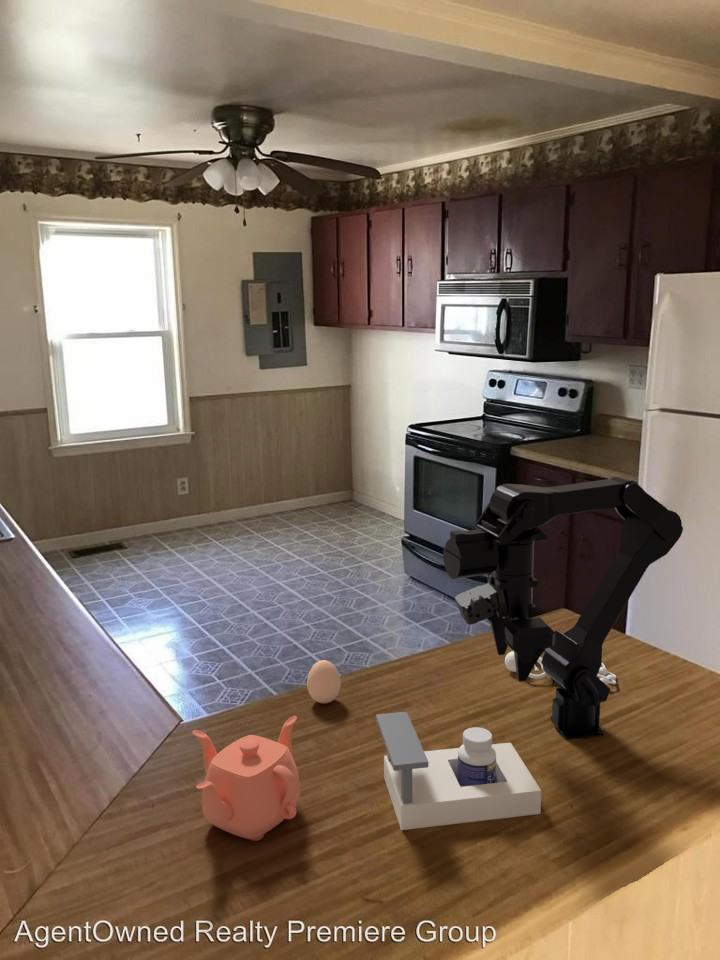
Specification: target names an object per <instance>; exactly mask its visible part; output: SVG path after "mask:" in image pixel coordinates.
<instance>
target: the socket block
mask: <svg viewBox="0 0 720 960" xmlns="http://www.w3.org/2000/svg"><path fill="white" fill-rule="evenodd" d="M375 721H376V723H377V727H378V729H379V732H380V735H381V738H382V741H383V743H384V747H385V750H386V754H385V755H383V778H384V781H385V784H386V788H387V791H388V793H389V796H390V797H389V798H390V800H391V803H392V806H393V809H394V810H393V811H394V812H395V815H396V818H397V821H398V822H397V823H398V824H399V828H400V831H404V830H415V829H423V828H431V827H438V826H448V825H456V824H457V825H458V824H465V823H466V824H467V823H474V822H481V821H489V820H490V821H491V820H500V819H509V818H515V817H516V818H517V817H524V816H533V815H541V809H542V807H541V806H542V805H541V803H542V789H541V788H540V787H539V784H538V783H537V782H536V780H535V778H534V777H533V775H532V774H531V772H530V771H529V769H528V767H527V766H526V764H525V763H524V761H523V760H522V758H521V756H520V755H519V754H518V752H517V750H516V748H515V747H514V746H513V744H512V743H511V742H505V743H504V742H503V743H501V742H500V743H495V744H494V743H492V747H493V748H494V750H495V752H496V776H495V783H491V784H482V785H473V786H464V787H460V785H459V783H458V781H457V778H458V750H459V748H460V747H456V748H455V747H454V748H444V749H436V750H434V749H433V750H426V751H425V750H424V748H423V746H422V743H421V741H420V739H419V737H418V734H417V732H416V730H415V728H414V725H413V722H412V720H411V718H410V715H409V714H408V711H399V712H388V713H387V712H386V713H377V714H375Z"/></svg>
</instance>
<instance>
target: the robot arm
mask: <svg viewBox="0 0 720 960" xmlns="http://www.w3.org/2000/svg"><path fill="white" fill-rule="evenodd" d="M613 508H614V509H615V512H616V513H617V514H618V515H619V516H620V518H621V519H623V524H622V525H621V528H620V531H619V533H620V534H619V535H620V536H619V549H618V551H617V554H616V555H615V557H614V559H613V560H612V561H611V563H610V565H609V567H608V569H607V570H606V572H605V574H604V576H603V577H602V579H601V581H600V582H599V584H598V586H597V587H596V589H595V591H594V592H593V594H592V595H591V597H590V599H589V601H588V603H587V604H586V605H585V608H584V609H583V611H582V613H581V614H580V616H579V618H578V620H577V621H576V623H575V624H574V626H573V627H571V628H570V629H567V631H565V632H561V631H560V630H559V629H556V630H553V628H552V627H551V626H549V624H548V623H547V622H546V621H545V620H544V619H542V618H541V617H532V618H530V617H529V614H531V615H532V614H537V612H538V611H537V610H538V607H537V605H536V604H535V603H534V602H533V589H534V588H538V585H539V584H538V579H537V578H535V577H534V561H535V560H534V557H535V556H534V555H535V553H534V552H535V542H541V541H547V540H549V536H548V534H546V533H545V532H544V531H543V530H542V529H541V528H540V526H543V525H546V524H548V523H549V521H551V520H553V519H554V518H557V517H560V516H564V515H566V516H567V515H572V514H579V513H586V512H592V511H599V510H605V509H613ZM497 522H501V523H503V524H505V525H504V526H502V525H499V524H498V523H497ZM683 531H684V527H683V524H682V519H681V517H680V515H679V514H678V513H677V512H676V511H673V510H670V509H667V507H666V506H664V505H663V504H662V503H661V502H659V501H658V500H657V499H655V498H654V497H653V496H652V495H650V494H649V493H648V492H646V491H645V490H644V488H642V486H640V485H639V483H638V482H636V481H634V480H631V479H628V478H625V477H621V476H613V477H610V478H608V479H600V480H599V479H598V480H593V481H592V480H591V481H584V482H579V483H571V484H570V483H569V484H564V485H563V484H562V485H557V486H548V487H545V486H544V487H543V486H538V485H537V486H536V485H529V484H520V483H519V484H518V483H517V484H515V483H504V484H501V485H499V486H497V487H496V488H495V490H494V491H493V493H492V494H491V497H490V499H489V503H488V504H487V506H486V507H485V508H484V510H483V512H481V515H480V516H479V518H478V519H477V520H476V521H475V524H474V529H471V530H451V531H450V533H449V539H448V540H447V541H446V543H445V546H444V549H443V551H442V556H443V557H442V558H443V564H444V568H445V571H446V572H447V575H448V576H449V578H451V579H452V580H456V579H463V578H465V579H466V578H470V577H479V576H486V575H487V583H485V584H482V585H477V586H474V587H472V588H470V589H468V590H466V591H463V592H461V593H459V594H457V595H455V597H454V601H455V603H456V605H457V607H458V608H457V609H458V610H459V613H460V617H461V618H463V620H464V621H465V622H466V623H465V624H467V625H470V626H471V625H475V624H478V622H479V623H480V622H482V621H484V620H486V619H487V621H489V624H490V628H491V632H492V637H493V641H494V644H495V649H496V653H497V655H498V656H504V655H505V654H506V652H507V650H508V647H509V648H510V649H511V650H512V651H514V656H515V664H516V672H515V673H516V677H517V681H518V682H526V681H527V679H528V678H529V677H528V676H529V674H530V673H531V672H532V671H533V669H534V668H535V667H534V666H535V665H536V664H537V663H538V662H537V661H538V659H539V658H540V657H541V656H542V655H543V656H542V657H541V658H542V662H541V663H542V665H543V670H544V671H545V673H546V674H547V676H549V679H550V682H551V683H552V684H553V685H555V686H556V687H557V688H555V697H554V698H552V708H551V709H552V710H551V711H552V712H551V715H550V721H551V722H552V723H553V725H554V726H555V728H556V729H557V730H558V731H559V732H560V733H561V735H562V737H564V738H565V739H576V738H578V739H579V738H586V737H587V738H588V737H595V736H596V737H597V736H604V735H605V734H604V733H605V731H604V729H602V727H601V726H600V719H601V717H600V716H601V715H600V714H601V703H604V702H607V700H608V698H609V694H610V691H611V688H610V687H609V686H608V684H607V685H606V684H605V683H603V682H602V681H601V680H600V678H598V677H597V674H599V673H598V672H599V670H600V667H602V665H601V664H602V663H603V661H602V660H603V644H604V642H605V640H606V639H607V637H608V635H609V634H610V632H611V630H612V628H613V627H614V625H615V623H616V622H617V620H618V618H619V616H620V615H621V613H622V612H623V610H624V608H625V606H626V605H627V603H628V601H629V600H630V597H631V596H632V594H633V593H634V591H635V589H636V588H637V586H638V585H639V583H640V581H641V580H642V578H643V576H644V574H645V573H646V571H647V570H648V568H649V566H651V564H654V563H655V562H657V561H658V560H660V559H662V558H663V557H665V556H666V555H668V554H669V552H670V551H671V550H672V549H673V547H674V546H675V545H676V544H677V542H678V541H679V540H680V538H681V536H682V534H683ZM543 670H542V671H543ZM544 671H543V672H544Z"/></svg>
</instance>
